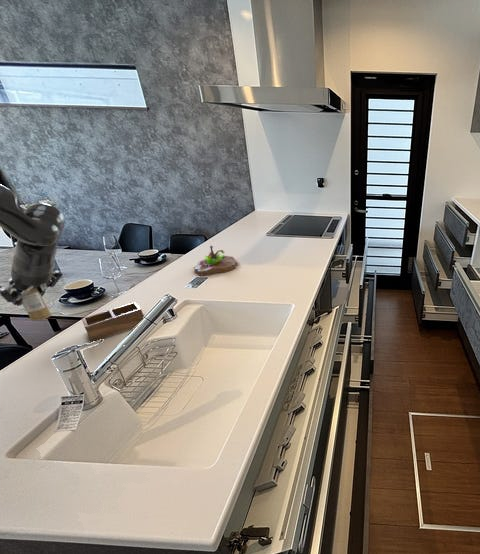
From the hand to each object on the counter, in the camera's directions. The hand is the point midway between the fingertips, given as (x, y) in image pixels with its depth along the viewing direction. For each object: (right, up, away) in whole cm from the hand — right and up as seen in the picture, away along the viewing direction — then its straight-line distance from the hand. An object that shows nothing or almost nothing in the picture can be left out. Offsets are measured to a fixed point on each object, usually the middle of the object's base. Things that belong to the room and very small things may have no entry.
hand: (27, 299), depth 89 cm
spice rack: (+11, -12, +19) cm, 25 cm away
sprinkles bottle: (+2, -6, +2) cm, 7 cm away
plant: (+20, +12, +69) cm, 73 cm away
